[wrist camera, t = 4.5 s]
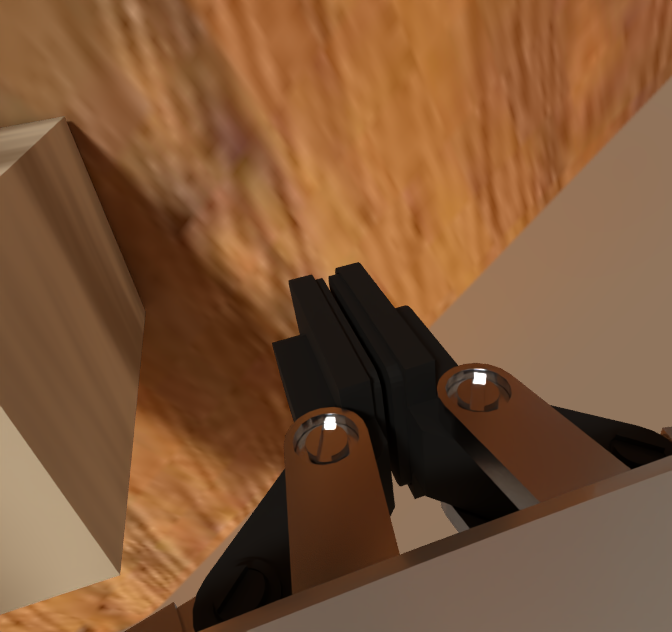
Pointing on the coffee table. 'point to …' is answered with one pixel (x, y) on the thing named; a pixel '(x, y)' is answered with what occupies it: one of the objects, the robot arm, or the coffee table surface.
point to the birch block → (61, 371)
